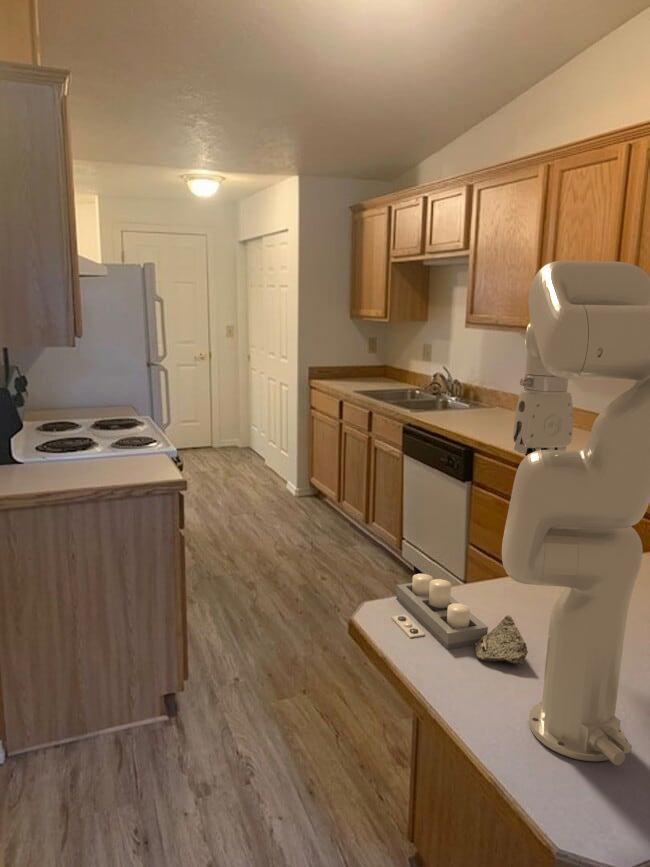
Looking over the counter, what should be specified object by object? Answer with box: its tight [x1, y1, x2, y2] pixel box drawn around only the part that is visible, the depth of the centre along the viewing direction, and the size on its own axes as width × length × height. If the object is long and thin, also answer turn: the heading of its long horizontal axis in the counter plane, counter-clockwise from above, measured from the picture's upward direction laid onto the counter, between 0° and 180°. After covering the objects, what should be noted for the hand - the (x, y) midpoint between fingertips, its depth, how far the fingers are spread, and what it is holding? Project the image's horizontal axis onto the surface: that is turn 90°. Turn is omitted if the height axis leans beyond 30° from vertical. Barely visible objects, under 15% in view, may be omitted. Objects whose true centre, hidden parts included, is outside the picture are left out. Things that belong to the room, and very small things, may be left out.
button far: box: [411, 573, 434, 596], centre depth 130 cm, size 4×4×4 cm
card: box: [391, 614, 426, 639], centre depth 121 cm, size 8×3×1 cm, turn 19°
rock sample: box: [474, 614, 529, 665], centre depth 111 cm, size 10×8×9 cm
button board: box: [395, 582, 489, 650], centre depth 124 cm, size 21×8×3 cm, turn 19°
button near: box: [447, 602, 471, 630], centre depth 117 cm, size 4×4×4 cm
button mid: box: [429, 578, 452, 608], centre depth 123 cm, size 4×4×4 cm
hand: (537, 482), depth 121 cm, fingers closed
